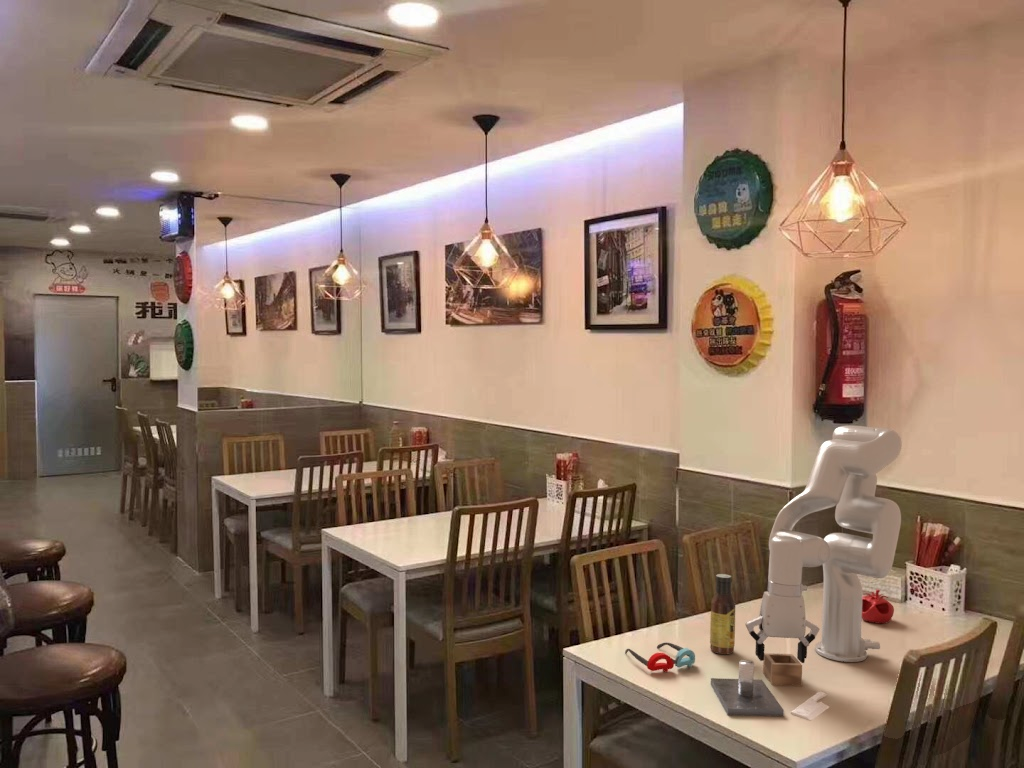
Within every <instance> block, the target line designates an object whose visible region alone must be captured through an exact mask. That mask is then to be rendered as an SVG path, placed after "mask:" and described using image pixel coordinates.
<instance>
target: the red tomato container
mask: <svg viewBox="0 0 1024 768" xmlns="http://www.w3.org/2000/svg"><path fill="white" fill-rule="evenodd" d="M880 592H881V590H880V589H875V591H870V592H868V593H867V592H866V593H864V595H863V597H862V620H864V621H865V622H868V621H869V623H874V622H875V624H880V623H882V624H887V623H886V622H888V623H889V622H890V621H891V620H892V618H893V616H894V613H895V607H894V606H893V604H892V603H891V602H889V600H887V599H889V596H886V595H885V593H881V594H879V593H880ZM886 598H887V599H886Z"/></svg>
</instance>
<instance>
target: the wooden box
mask: <svg viewBox="0 0 1024 768" xmlns="http://www.w3.org/2000/svg"><path fill="white" fill-rule="evenodd" d="M762 662H763V663H762V664H763V665H762V666H763V667H762V674H763V675H764V677H765V678H766V680H767V681H768V682H769V684H770V685H771V686H782V687H783V686H785V687H787V686H789V687H790V686H792V687H802V686H803V685H802V683H803V682H802V680H803V663H801V662H800V661H799V660H798V659H797V658H796V656H795V655H794V654H793V653H769V652H768V653H767V652H764V660H763V661H762Z"/></svg>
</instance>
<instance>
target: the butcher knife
mask: <svg viewBox="0 0 1024 768" xmlns="http://www.w3.org/2000/svg"><path fill="white" fill-rule="evenodd" d="M826 696H827V693H826V692H822V691H818V692H817V693H815V694H814V695H812V696H811V697H809V698H808V699H806V700H805V701H803V703H800V704H799V705H798V706H796V708H795V709H793V710H791V711H790V715H793V716H796V717H799V718H802V719H805V720H807V721H810V722H811V721H813V720H814V719H815V718H817V717H818V716H819V715H821V714H822V713H823V712H825V711H826V710H827V709H829V708H830V705H827V704H826V703H825V704H824V703H823V701H819V700H821V699H824V698H825V697H826ZM818 701H819V702H818Z"/></svg>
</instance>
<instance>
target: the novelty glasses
mask: <svg viewBox="0 0 1024 768" xmlns="http://www.w3.org/2000/svg"><path fill="white" fill-rule="evenodd" d="M664 646H669V647H670V648H672V649H674V650H676V651H677V653H676V656H675V659H673V658H672V657H671V656H669V655H668V654H666V653H664V652H656V653H654V654H652V655H651V656H649V659H645V658H644V657H642V656H641V655H640V654H638V653H637V652H635V651H633V650H632V649H630V648H626V649H625V651H624V654H625V655H627V654H628V652H629V653H630V654H631V655H632V656H633V657H634V658H635V659H636V660H637V661H639V662H640V663H641V664H643V665H645V666H646V668H647V669H648V670H649V671H651V672H656V671H660V670H662V671H664V672H665V673H668V672H669V670H672V669H673V668H674V666H675V667H677V668H682V667H684V666H687V667H688V668H692V665H693V664H695V662H696V654H695V652H694V651H693V650H692V649H689V648H688V647H685V648H684V647H682V646H679V645H677V644H675V643H672V642H671V643H670V642H662V643H659V644H657V646H656V648H657V649H658V650H659V649H661V648H662V647H664ZM685 656H686V657H685ZM661 660H665V661H666V662H659V661H661Z"/></svg>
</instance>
